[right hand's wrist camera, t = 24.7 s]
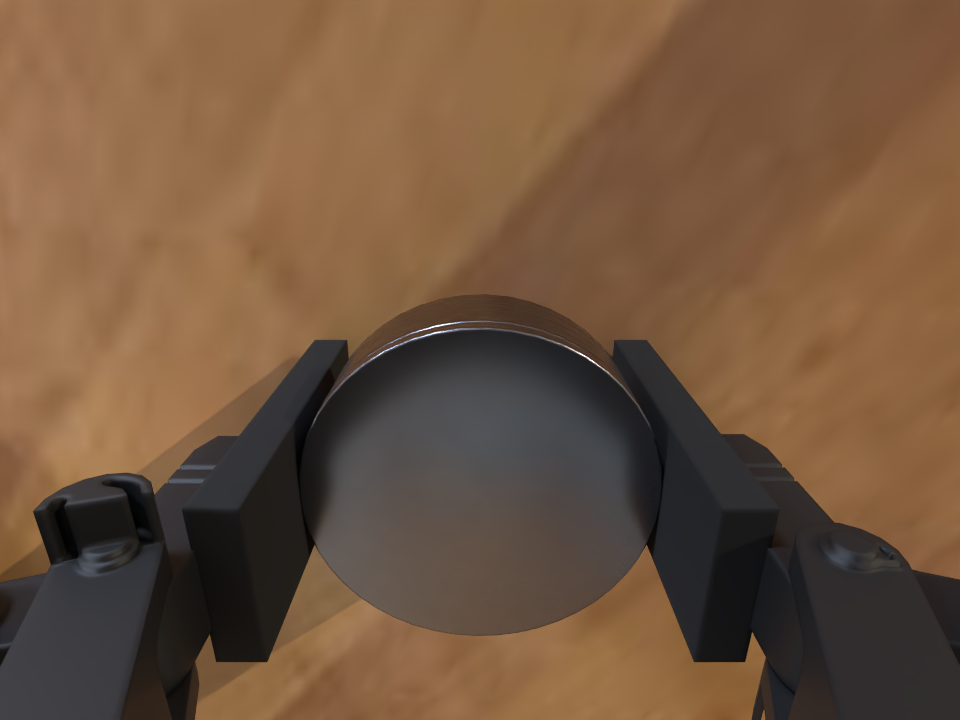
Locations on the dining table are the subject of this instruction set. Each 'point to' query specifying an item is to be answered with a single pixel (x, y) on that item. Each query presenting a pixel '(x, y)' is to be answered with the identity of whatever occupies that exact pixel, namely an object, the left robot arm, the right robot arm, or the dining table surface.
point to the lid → (480, 468)
